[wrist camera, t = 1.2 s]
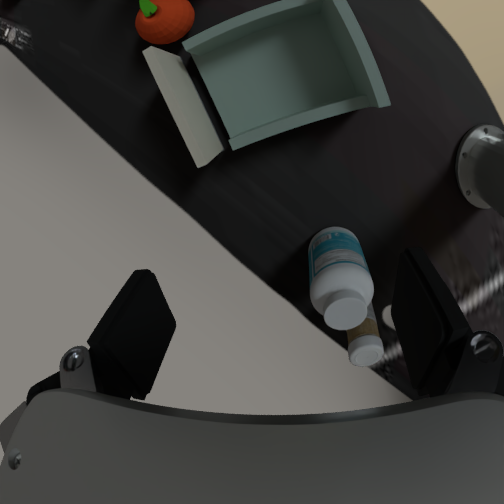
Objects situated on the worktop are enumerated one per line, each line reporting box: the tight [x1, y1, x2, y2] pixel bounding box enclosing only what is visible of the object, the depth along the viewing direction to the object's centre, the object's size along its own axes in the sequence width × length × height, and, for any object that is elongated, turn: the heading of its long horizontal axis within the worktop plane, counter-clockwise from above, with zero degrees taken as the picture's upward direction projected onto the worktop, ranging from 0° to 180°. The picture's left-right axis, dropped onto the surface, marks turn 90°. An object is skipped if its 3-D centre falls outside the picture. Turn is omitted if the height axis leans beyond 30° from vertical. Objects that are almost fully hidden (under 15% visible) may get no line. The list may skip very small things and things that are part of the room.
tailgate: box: [142, 46, 225, 168], centre depth 25 cm, size 1×13×9 cm, turn 23°
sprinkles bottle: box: [346, 302, 384, 367], centre depth 36 cm, size 5×5×13 cm
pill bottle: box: [308, 227, 374, 330], centre depth 32 cm, size 8×7×14 cm
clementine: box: [135, 0, 195, 44], centre depth 21 cm, size 8×7×7 cm
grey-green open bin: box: [182, 0, 391, 150], centre depth 23 cm, size 17×13×9 cm
